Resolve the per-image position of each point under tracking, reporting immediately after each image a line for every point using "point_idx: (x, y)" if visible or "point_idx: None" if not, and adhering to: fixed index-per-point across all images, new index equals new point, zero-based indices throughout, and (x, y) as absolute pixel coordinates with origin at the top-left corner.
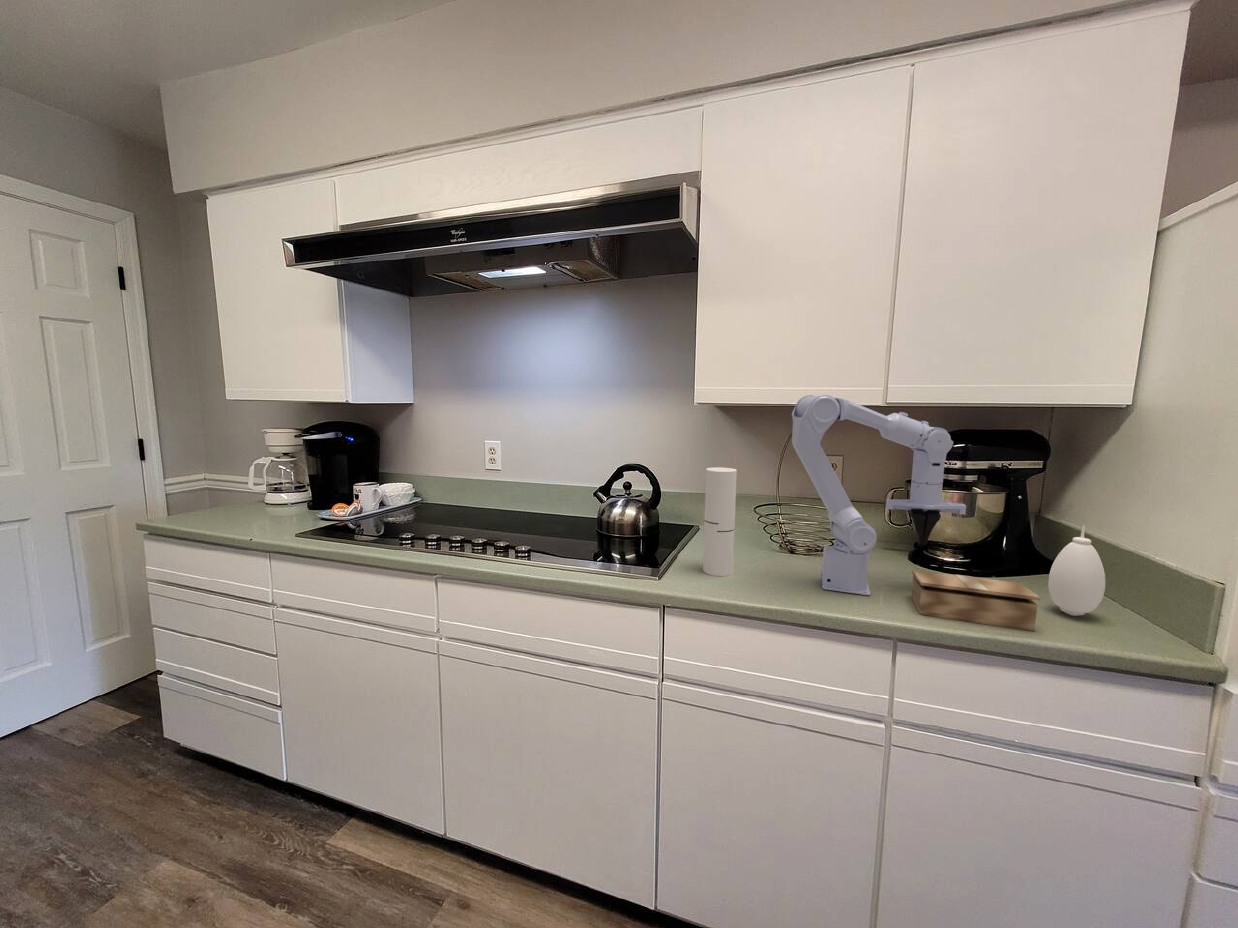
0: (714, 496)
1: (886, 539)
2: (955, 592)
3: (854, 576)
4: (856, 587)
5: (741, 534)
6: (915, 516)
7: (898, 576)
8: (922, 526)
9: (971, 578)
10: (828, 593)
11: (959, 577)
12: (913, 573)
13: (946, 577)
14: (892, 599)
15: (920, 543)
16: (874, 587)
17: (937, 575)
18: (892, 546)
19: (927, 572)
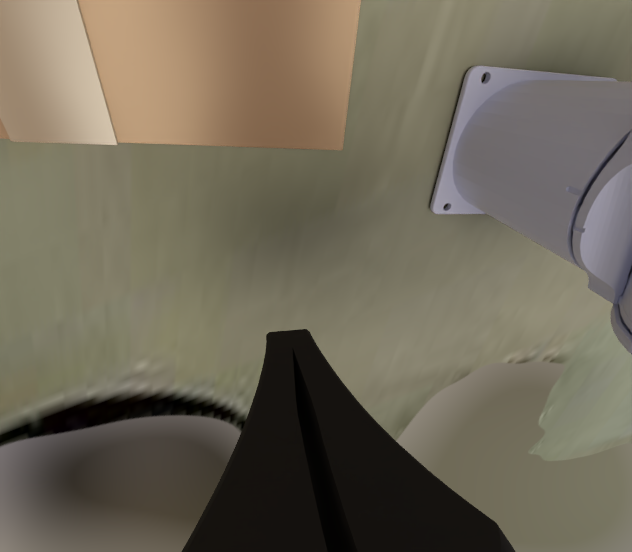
0: None
1: None
2: None
3: (575, 82)
4: (524, 83)
5: (584, 422)
6: (497, 543)
7: (308, 314)
8: (337, 438)
9: (6, 73)
10: (608, 43)
11: (85, 62)
12: (345, 101)
13: (170, 33)
14: (389, 63)
15: (303, 332)
16: (413, 183)
17: (223, 72)
18: None
19: (270, 129)
